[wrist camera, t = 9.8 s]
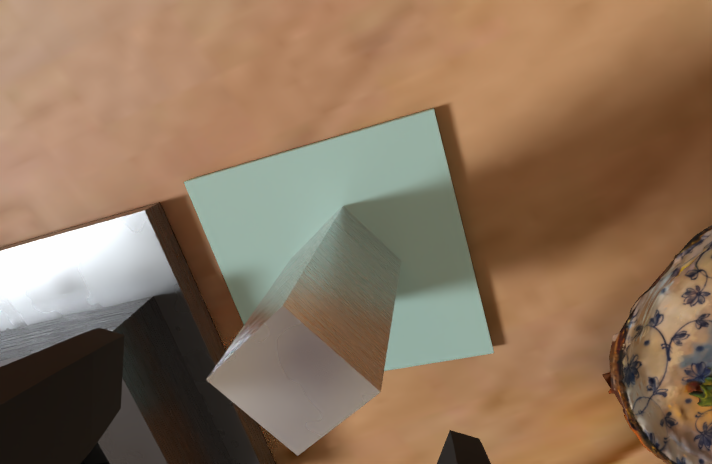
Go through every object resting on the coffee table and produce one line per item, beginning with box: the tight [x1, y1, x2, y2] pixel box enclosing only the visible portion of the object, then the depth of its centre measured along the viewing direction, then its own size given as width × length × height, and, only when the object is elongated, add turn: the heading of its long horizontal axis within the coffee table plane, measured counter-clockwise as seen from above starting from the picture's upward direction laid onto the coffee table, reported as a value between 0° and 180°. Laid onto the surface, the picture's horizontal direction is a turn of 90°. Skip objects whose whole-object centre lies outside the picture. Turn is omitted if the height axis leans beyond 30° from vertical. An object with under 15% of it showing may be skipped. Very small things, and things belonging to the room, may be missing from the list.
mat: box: [184, 108, 494, 371], centre depth 17 cm, size 9×9×1 cm
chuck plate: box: [0, 202, 275, 464], centre depth 20 cm, size 16×12×4 cm
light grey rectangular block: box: [206, 206, 401, 456], centre depth 14 cm, size 3×3×7 cm
